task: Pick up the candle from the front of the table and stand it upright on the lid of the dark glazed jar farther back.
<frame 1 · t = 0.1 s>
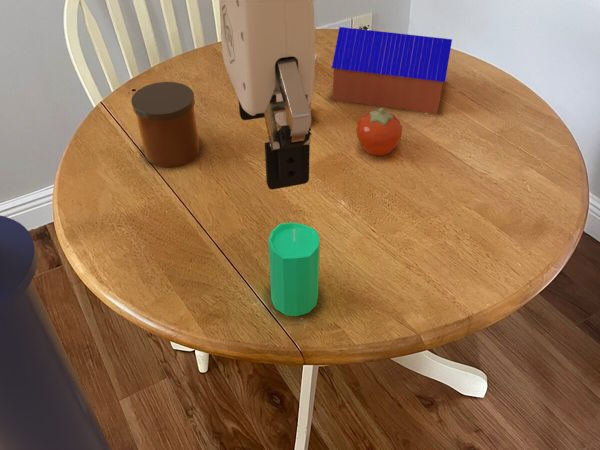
hand: (272, 148, 48), 30 cm above the table, tool pointing down, fingers open, 9 cm apart
house: (387, 92, 112), on the table
candle: (294, 298, 75), on the table
mate gourd: (268, 71, 118), on the table
jar: (172, 151, 98), on the table
tomato: (376, 150, 98), on the table
cup: (292, 119, 105), on the table
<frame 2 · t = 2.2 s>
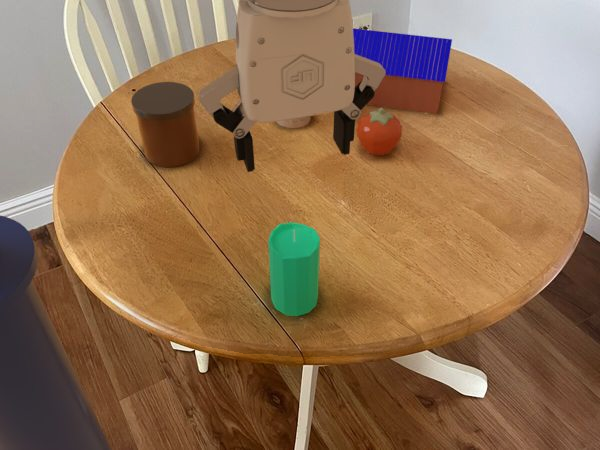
hand: (295, 155, 58), 23 cm above the table, tool pointing down, fingers open, 9 cm apart
nothing on the table moved.
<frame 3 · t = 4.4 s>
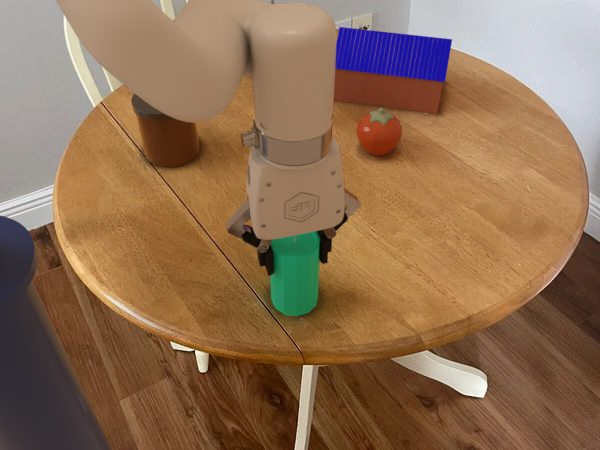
hand: (294, 260, 70), 7 cm above the table, tool pointing down, fingers closed on candle, 5 cm apart
candle: (294, 298, 75), on the table, touching gripper
everything else where it was.
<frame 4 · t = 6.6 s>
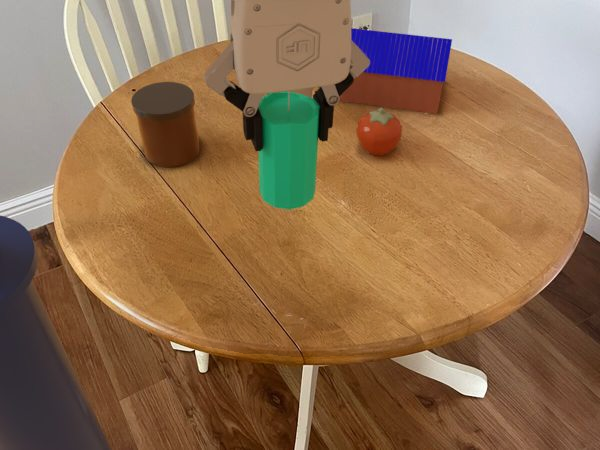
hand: (288, 136, 58), 24 cm above the table, tool pointing down, fingers closed on candle, 5 cm apart
candle: (287, 192, 63), point 17 cm above the table, touching gripper
everything else where it was.
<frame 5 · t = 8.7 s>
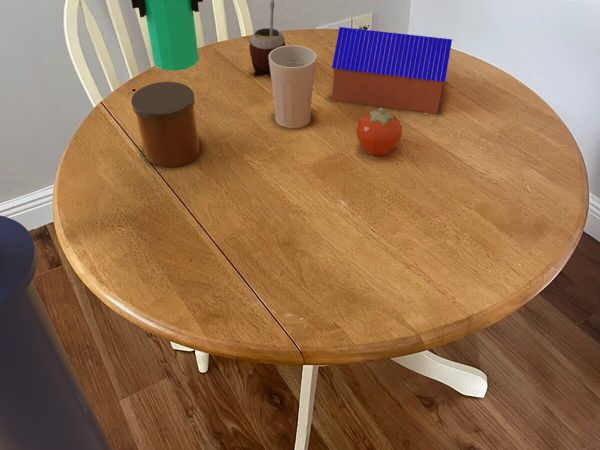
hand: (168, 8, 74), 27 cm above the table, tool pointing down, fingers closed on candle, 5 cm apart
candle: (176, 61, 78), point 20 cm above the table, touching gripper
everything else where it was.
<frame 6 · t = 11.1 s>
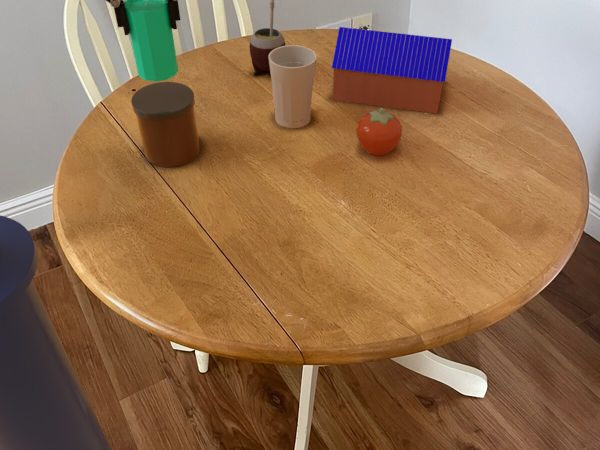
hand: (150, 27, 83), 22 cm above the table, tool pointing down, fingers closed on candle, 5 cm apart
candle: (158, 72, 88), point 14 cm above the table, touching gripper
everything else where it was.
when the fingers open (17 cm above the table, at t = 12.9 s): candle stays where it is, resting on jar.
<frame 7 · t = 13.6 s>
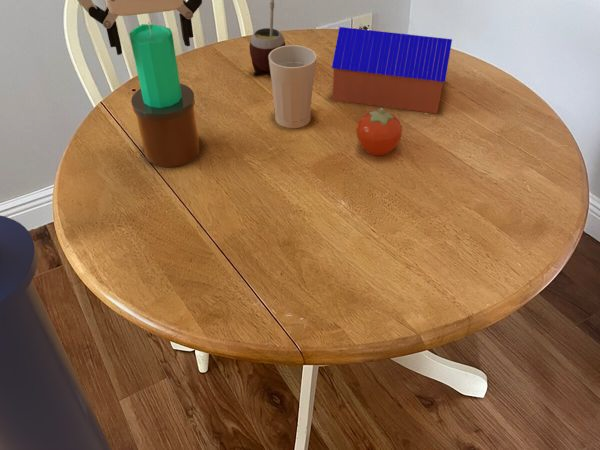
hand: (153, 46, 85), 19 cm above the table, tool pointing down, fingers open, 9 cm apart
candle: (162, 98, 91), point 10 cm above the table, touching jar
jar: (172, 151, 98), on the table, touching candle
everything else where it was.
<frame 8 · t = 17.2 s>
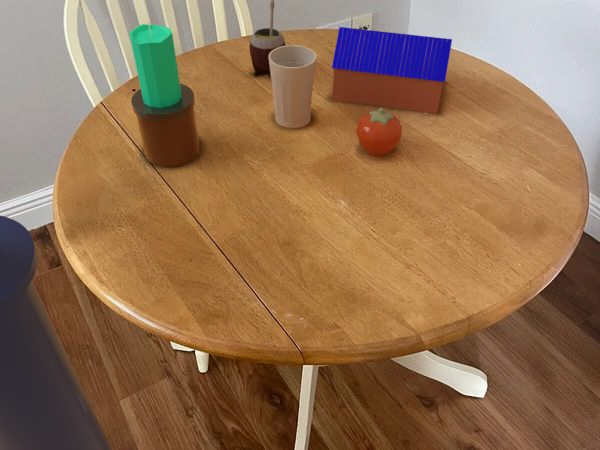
nothing on the table moved.
at the end: candle 0.1 cm off-centre on the jar, point 10.0 cm above the jar's base; candle tilted 0°; jar tilted 0° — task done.
